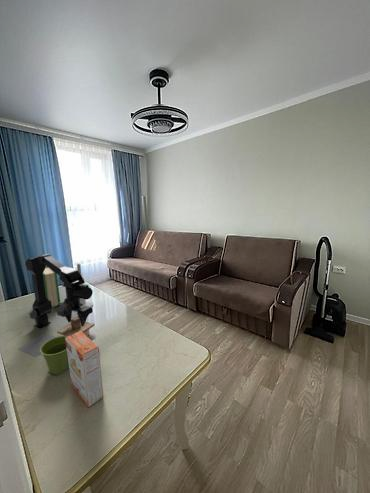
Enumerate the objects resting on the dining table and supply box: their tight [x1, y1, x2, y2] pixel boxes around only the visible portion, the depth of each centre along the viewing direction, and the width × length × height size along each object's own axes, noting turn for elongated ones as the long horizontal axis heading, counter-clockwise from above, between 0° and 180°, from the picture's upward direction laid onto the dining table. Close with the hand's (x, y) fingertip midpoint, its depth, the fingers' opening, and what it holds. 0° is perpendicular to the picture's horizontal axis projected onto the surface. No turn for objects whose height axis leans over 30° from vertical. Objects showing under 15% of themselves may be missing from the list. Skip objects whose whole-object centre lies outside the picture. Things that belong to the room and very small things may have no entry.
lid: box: [56, 316, 95, 336], centre depth 106 cm, size 12×12×6 cm
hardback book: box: [43, 266, 61, 308], centre depth 141 cm, size 18×7×24 cm, turn 45°
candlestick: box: [76, 263, 94, 308], centre depth 136 cm, size 13×13×30 cm
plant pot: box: [40, 335, 69, 376], centre depth 86 cm, size 12×12×11 cm
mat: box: [17, 333, 56, 357], centre depth 101 cm, size 13×13×1 cm
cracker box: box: [65, 331, 104, 409], centre depth 74 cm, size 14×6×21 cm, turn 49°
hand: (76, 324), depth 106 cm, fingers open, 9 cm apart
